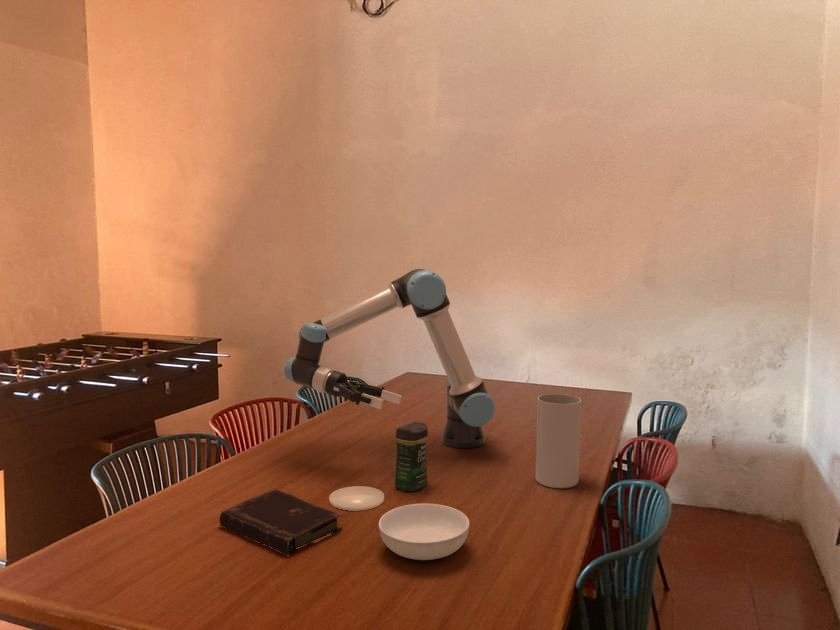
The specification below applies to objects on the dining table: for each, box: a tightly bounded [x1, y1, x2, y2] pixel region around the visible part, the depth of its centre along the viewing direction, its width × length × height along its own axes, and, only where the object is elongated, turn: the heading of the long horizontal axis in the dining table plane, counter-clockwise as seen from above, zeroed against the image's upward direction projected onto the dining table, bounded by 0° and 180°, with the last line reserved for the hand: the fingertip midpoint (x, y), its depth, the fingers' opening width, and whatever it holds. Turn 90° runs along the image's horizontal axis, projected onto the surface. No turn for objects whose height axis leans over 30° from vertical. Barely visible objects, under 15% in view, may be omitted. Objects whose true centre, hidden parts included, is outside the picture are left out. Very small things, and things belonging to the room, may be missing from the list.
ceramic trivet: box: [328, 485, 385, 512], centre depth 182 cm, size 15×15×1 cm
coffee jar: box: [394, 421, 429, 492], centre depth 192 cm, size 10×8×19 cm
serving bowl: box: [378, 503, 470, 561], centre depth 154 cm, size 21×21×7 cm
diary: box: [219, 488, 343, 555], centre depth 164 cm, size 19×25×5 cm
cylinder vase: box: [535, 393, 582, 489], centre depth 196 cm, size 12×12×25 cm
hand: (391, 402), depth 197 cm, fingers open, 13 cm apart
